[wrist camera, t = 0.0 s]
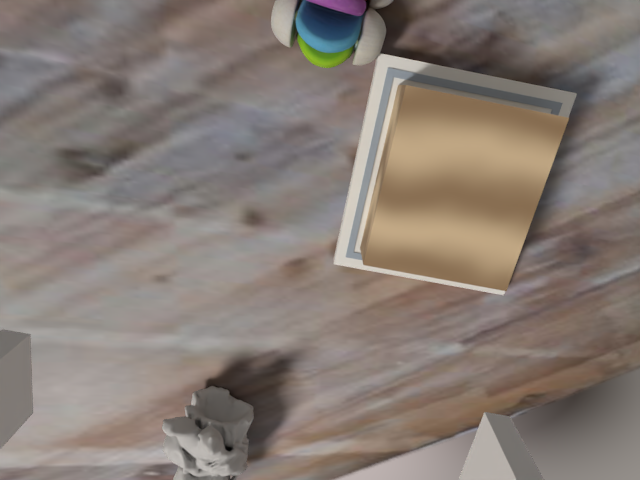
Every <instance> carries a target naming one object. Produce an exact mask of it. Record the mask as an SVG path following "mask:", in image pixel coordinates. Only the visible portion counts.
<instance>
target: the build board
mask: <svg viewBox="0 0 640 480" xmlns="http://www.w3.org/2000/svg"><path fill="white" fill-rule="evenodd" d="M398 85H408V86H413V87H418V88H423V89H428V90H433V91H438V92H443V93H448V94H453V95H458V96H463V97H468V98H473V99H478V100H483V101H488V102H493V103H498V104H503V105H508V106H513V107H518V108H523V109H528V110H533V111H538V112H543V113H548V114H553V115H558V116H563V117H567V118H568V117H569V115H570V112H571V109H572V106H573V104H574V101H575V98H576V95H577V93H573V92H568V91H563V90H558V89H553V88H548V87H543V86H538V85H533V84H528V83H524V82H519V81H514V80H509V79H504V78H499V77H494V76H489V75H484V74H479V73H474V72H470V71H465V70H460V69H455V68H450V67H445V66H440V65H435V64H430V63H425V62H420V61H416V60H411V59H406V58H401V57H396V56H391V55H386V54H381V53H380V54H379V56H378V57H377V59H376V64H375V69H374V73H373V78H372V83H371V87H370V92H369V97H368V101H367V106H366V111H365V115H364V120H363V125H362V129H361V134H360V139H359V143H358V148H357V153H356V157H355V162H354V167H353V171H352V176H351V181H350V185H349V190H348V195H347V199H346V204H345V209H344V213H343V218H342V223H341V227H340V232H339V237H338V241H337V246H336V251H335V255H334V264H336V265H342V266H347V267H352V268H358V269H363V270H369V271H374V272H380V273H385V274H391V275H396V276H402V277H407V278H413V279H418V280H424V281H429V282H434V283H440V284H445V285H451V286H456V287H462V288H467V289H473V290H478V291H484V292H489V293H495V294H500V295H504V293H505V291H502V290H497V289H492V288H486V287H481V286H475V285H470V284H464V283H459V282H453V281H448V280H442V279H437V278H432V277H426V276H421V275H415V274H410V273H404V272H399V271H393V270H388V269H382V268H377V267H372V266H366V265H363V261H362V256H361V250H360V246H361V242H362V237H363V233H364V229H365V225H366V220H367V216H368V212H369V207H370V203H371V199H372V195H373V190H374V186H375V182H376V177H377V173H378V169H379V165H380V160H381V156H382V152H383V147H384V143H385V139H386V135H387V130H388V126H389V122H390V117H391V113H392V109H393V105H394V100H395V96H396V92H397V88H398Z"/></svg>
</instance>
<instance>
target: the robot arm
mask: <svg viewBox="0 0 640 480" xmlns="http://www.w3.org/2000/svg"><path fill="white" fill-rule="evenodd" d="M32 414H33V395H32V367H31V339H30V334H26V333H20V332H14V331H9V330H1V331H0V449H1V448H2V447H3V446H4V444H5V443H6V442H7V441H8V440H9V439H10V438H11V437H12V436H13V435H14V433H15V432H16V431H17V430H18V429H19V428H20V427H21V426H22V425H23V424H24V422H25V421H26V420H27V419H28V418H29V417H30V416H31V415H32ZM459 480H544V479H543V477H542V475H541V473H540V471H539V469H538V467H537V466H536V464H535V462H534V460H533V458H532V456H531V455H530V453H529V451H528V449H527V447H526V446H525V444H524V442H523V440H522V438H521V436H520V435H519V432H518V431H517V429H516V427H515V425H514V423H513V421H512V419H511V418H510V416H504V415H498V414H492V413H487V412H484V415H483V417H482V420H481V423H480V425H479V428H478V430H477V433H476V436H475V438H474V441H473V443H472V446H471V449H470V451H469V454H468V456H467V459H466V462H465V464H464V467H463V469H462V472H461V475H460V478H459Z"/></svg>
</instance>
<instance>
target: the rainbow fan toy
mask: <svg viewBox="0 0 640 480" xmlns="http://www.w3.org/2000/svg"><path fill="white" fill-rule="evenodd" d="M393 1H394V0H369V2H368V8H367V10H366V11H365V9H366V0H276V1H275V3H274V7H273V11H272V17H271V26H272V30H273V32H274V34H275V36H276V37H277V39H278V40H279V41H280V42H281V43H282V44H284V45H285V46H287V47H292V46H293V44H294V41H295V38H296V35H297V32H298V35H297V40H298V43H299V45H300V48H301V50H302V52H303V54H304V55H305V57H306V58H307V59H308V60H309V61H310V62H311V63H313V64H314V65H316V66H319V67H323V68H331V67H335V66H337V65H339V64H341V63H343V62H344V61H345V60H346V59H347V58H349V57H350V56H351V54H352V53H353V51H355V55H354V59H353V65H365V64H368V63H370V62H372V61H373V60H375V59H376V58H377V57H378V56H379V54H380V52H381V49H382V46H383V42H384V39H385V35H386V26H385V23H384V21H383V19H382V17H381V16H380V15H379V14H378V13H377V12H376V11H375V9H380V8H383V7H385V6H387V5H389V4H390V3H392V2H393Z"/></svg>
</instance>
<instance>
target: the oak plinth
mask: <svg viewBox="0 0 640 480" xmlns="http://www.w3.org/2000/svg"><path fill="white" fill-rule="evenodd" d="M568 120H569V118H567V117H563V116H558V115H553V114H548V113H543V112H538V111H533V110H528V109H523V108H518V107H513V106H508V105H503V104H498V103H493V102H488V101H483V100H478V99H473V98H468V97H463V96H458V95H453V94H448V93H443V92H438V91H433V90H428V89H423V88H418V87H413V86H408V85H398V88H397V92H396V96H395V100H394V105H393V109H392V113H391V117H390V122H389V126H388V130H387V135H386V139H385V143H384V147H383V152H382V156H381V160H380V165H379V169H378V173H377V177H376V182H375V186H374V190H373V195H372V199H371V203H370V207H369V212H368V216H367V220H366V225H365V229H364V233H363V237H362V242H361V246H360V250H361V256H362V261H363V265H366V266H372V267H377V268H382V269H388V270H393V271H399V272H404V273H410V274H415V275H421V276H426V277H432V278H437V279H442V280H448V281H453V282H459V283H464V284H470V285H475V286H481V287H486V288H492V289H497V290H502V291H506V290H507V288H508V285H509V282H510V279H511V277H512V274H513V271H514V268H515V266H516V263H517V260H518V257H519V255H520V252H521V249H522V246H523V244H524V241H525V238H526V235H527V233H528V230H529V227H530V224H531V222H532V219H533V216H534V213H535V211H536V208H537V205H538V202H539V200H540V197H541V194H542V191H543V189H544V186H545V183H546V180H547V178H548V175H549V172H550V170H551V167H552V164H553V161H554V159H555V156H556V153H557V150H558V148H559V145H560V142H561V139H562V137H563V134H564V131H565V128H566V126H567V123H568Z"/></svg>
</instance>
